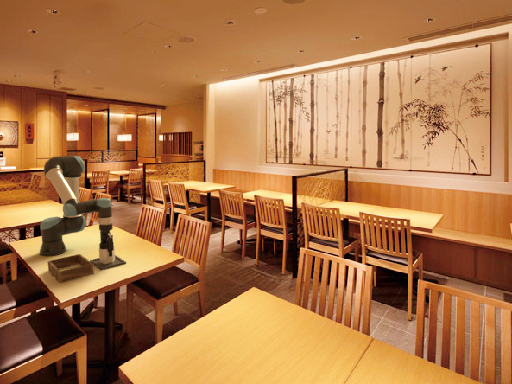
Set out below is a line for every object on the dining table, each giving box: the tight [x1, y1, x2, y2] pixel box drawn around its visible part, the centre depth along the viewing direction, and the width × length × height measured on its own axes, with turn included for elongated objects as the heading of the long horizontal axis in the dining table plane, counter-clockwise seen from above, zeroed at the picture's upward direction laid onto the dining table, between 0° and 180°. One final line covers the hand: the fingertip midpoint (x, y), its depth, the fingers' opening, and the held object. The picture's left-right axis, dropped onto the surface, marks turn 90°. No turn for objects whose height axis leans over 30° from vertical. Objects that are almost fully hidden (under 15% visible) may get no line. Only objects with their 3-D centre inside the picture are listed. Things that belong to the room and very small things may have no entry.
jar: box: [98, 241, 116, 264], centre depth 202 cm, size 9×8×12 cm
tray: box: [89, 254, 127, 271], centre depth 203 cm, size 18×15×1 cm
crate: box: [47, 253, 95, 284], centre depth 188 cm, size 22×17×6 cm
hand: (107, 259), depth 202 cm, fingers closed on jar, 7 cm apart
